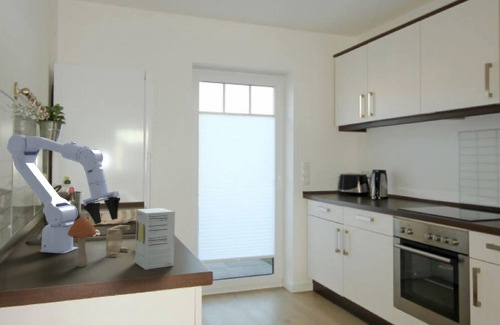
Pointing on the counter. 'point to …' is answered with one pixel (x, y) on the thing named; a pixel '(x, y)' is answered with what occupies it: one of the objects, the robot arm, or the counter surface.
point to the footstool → (115, 241)
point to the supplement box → (154, 238)
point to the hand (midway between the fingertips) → (106, 221)
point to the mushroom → (82, 237)
